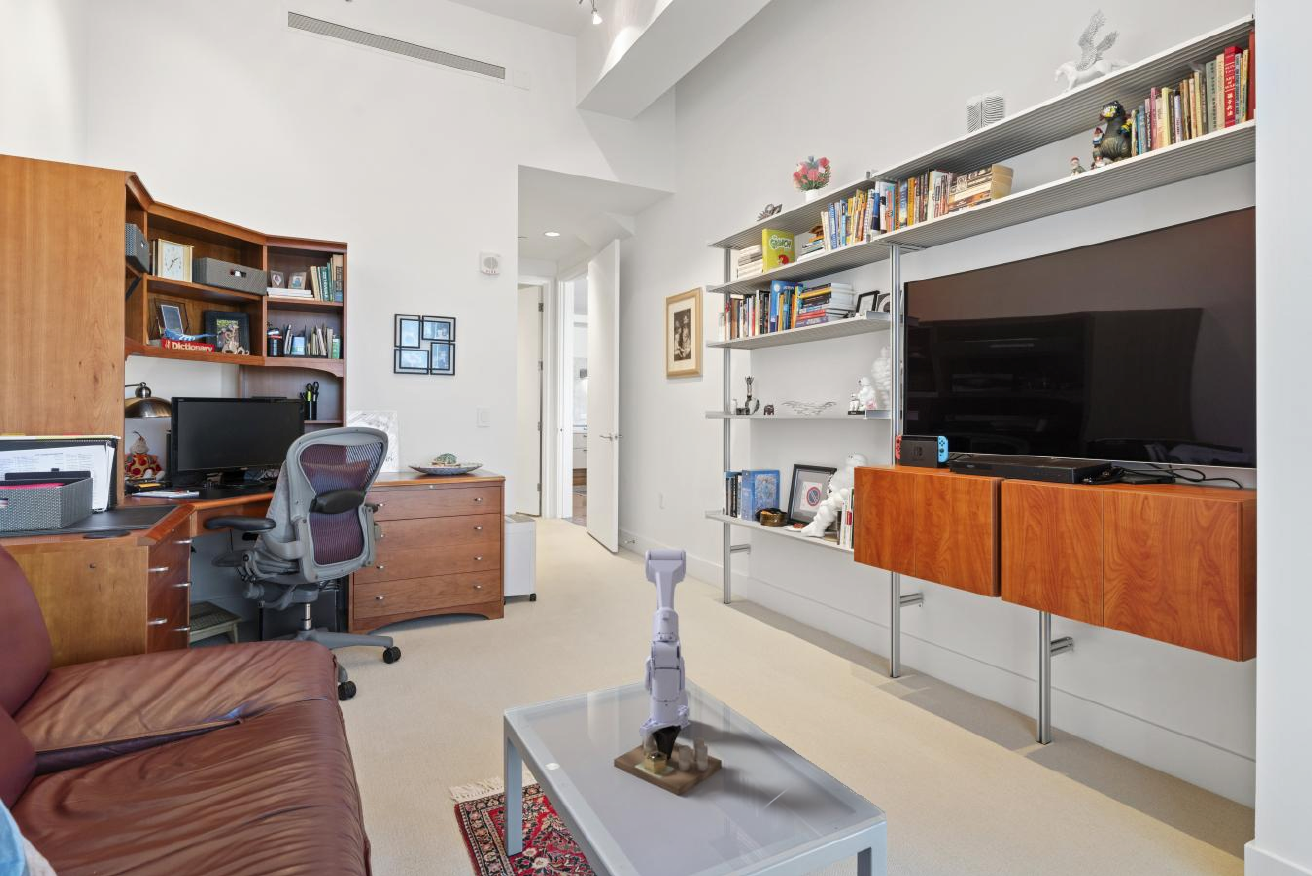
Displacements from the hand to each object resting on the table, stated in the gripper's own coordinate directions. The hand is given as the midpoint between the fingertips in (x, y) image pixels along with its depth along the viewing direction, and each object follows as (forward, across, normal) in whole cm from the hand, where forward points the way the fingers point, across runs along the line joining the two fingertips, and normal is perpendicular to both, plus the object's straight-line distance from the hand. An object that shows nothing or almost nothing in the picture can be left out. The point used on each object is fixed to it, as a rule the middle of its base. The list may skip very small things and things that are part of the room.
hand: (665, 758), depth 151 cm
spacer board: (+2, +1, 0) cm, 2 cm away
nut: (+1, -3, 0) cm, 3 cm away
